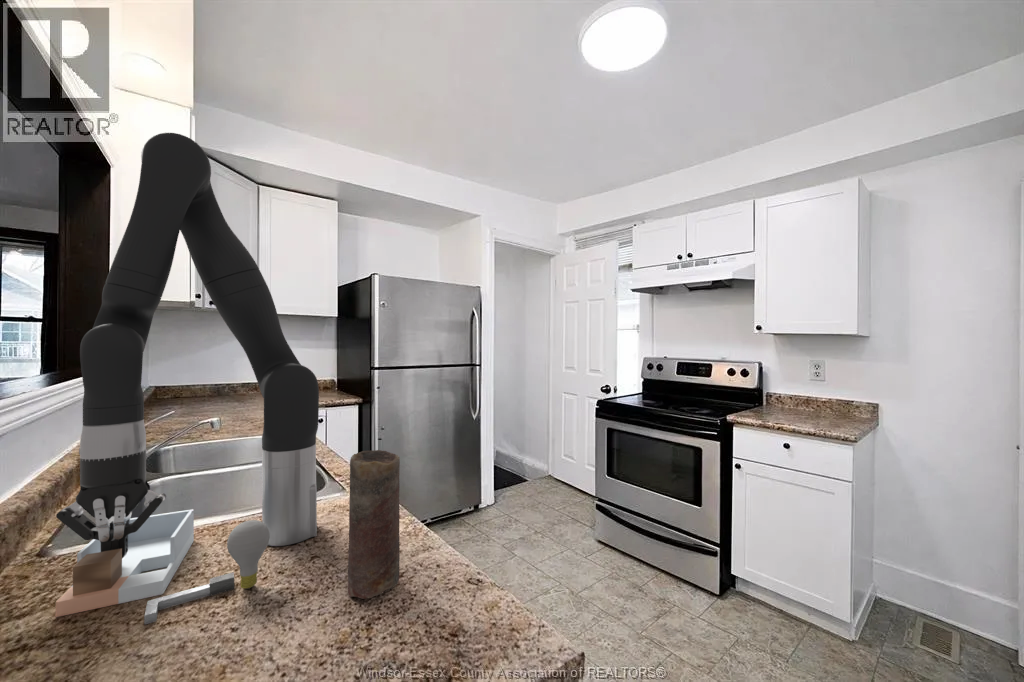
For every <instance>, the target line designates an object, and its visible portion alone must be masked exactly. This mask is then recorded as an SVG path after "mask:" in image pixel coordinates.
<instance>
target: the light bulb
mask: <svg viewBox="0 0 1024 682" xmlns="http://www.w3.org/2000/svg"><path fill="white" fill-rule="evenodd" d="M269 538H270V533H269V530H268V527H267V526H266V525H265V524H264V523H263V522H262V520H258V519H250V520H249V519H248V520H245V521H243V522H240V523H239V524H238V525H236V526H234V528H233V529H232V530H231V532H230V533H229V535H228V537H227V543H226V548H227V551H228V554H229V555H230V557H231V558H232V559H233V560H234V561H235V562H236V563H237V565H238V567H239V576H240V588H241V589H246V590H249V589H251V588H253V586H255V585H256V584H257V582H258V576H257V574H258V571H259V569H258V568H259V566H258V565H259V561H260V559H261V557H262V555H263V554H264V552H265V551H266V549H267V547H268V546H269V545H268V543H269Z"/></svg>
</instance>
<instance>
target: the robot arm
mask: <svg viewBox="0 0 1024 682" xmlns="http://www.w3.org/2000/svg"><path fill="white" fill-rule="evenodd" d="M140 153H141V155H140V159H141V160H140V161H141V167H140V174H139V181H138V182H139V183H138V187H137V193H136V195H135V196H136V197H135V199H134V200H135V201H134V204H133V207H132V208H133V209H132V212H131V214H130V217H129V221H128V224H127V226H126V229H125V230H124V234H123V236H122V239H121V240H120V243H119V246H118V248H117V250H116V253H115V256H114V259H113V261H112V264H111V267H110V269H109V272H108V274H107V277H106V279H105V283H104V285H103V288H102V292H101V305H100V308H99V311H98V313H97V316H96V318H95V320H94V324H93V326H92V329H89V330H88V331H87V332H86V333H85V334H84V335H83V337H82V339H81V342H80V346H79V347H80V348H79V358H80V359H79V360H80V370H81V377H82V384H83V399H82V429H81V434H80V439H79V449H78V454H79V478H80V479H79V491H78V493H77V494H76V496H75V501H74V502H73V503H71V504H70V505H68V506H65V507H64V508H62V509H61V510H59V512H57V513H56V515H55V516H56V519H58V520H59V521H60V522H61V523H63V524H64V525H65V526H67V527H68V528H69V529H70V530H71V531H73V532H74V533H76V535H78V536H80V537H81V538H82V539H83V540H84V541H92V540H93V539H96V540H99V541H100V542H101V552H104V551H110V550H116V549H121V548H122V558H124V556H125V555H126V554H127V552H128V534H131V533H134V532H136V531H137V530H138V529H139V528H140V527H141V526H142V525H143V524H144V523H145V521H146V520H147V519H148V518H149V517H150V516H151V515H153V514H154V512H156V510H157V509H158V508H159V506H161V504H162V503H163V502H164V501H165V499H166V498H167V494H166V493H163V492H161V493H157V492H155V491H153V490H151V485H150V484H149V482H148V481H147V432H146V425H145V397H144V391H143V387H142V381H143V380H142V379H143V378H142V377H143V361H144V360H143V358H144V351H145V348H146V345H147V341H148V337H149V334H150V331H151V327H152V323H153V317H154V314H155V312H156V310H157V308H158V307H159V305H160V303H161V300H162V297H163V294H164V291H165V289H166V286H167V283H168V279H169V276H170V273H171V270H172V266H173V262H174V258H175V253H176V248H177V244H178V238H179V234H180V232H181V235H182V237H183V239H184V242H185V244H186V247H187V248H188V249H187V250H188V252H189V255H190V257H191V259H192V262H193V264H194V267H195V270H196V272H197V273H198V276H199V278H200V280H201V282H202V285H203V286H204V288H205V290H206V292H207V294H208V295H209V298H210V300H211V302H212V303H213V305H214V307H215V308H216V310H217V312H218V313H219V315H220V317H221V318H222V319H223V321H224V322H225V324H226V326H227V327H228V329H229V331H230V332H231V334H232V335H233V336H234V337H235V339H236V340H237V342H238V343H239V344H240V346H241V347H242V350H243V351H244V352H245V353H244V354H245V355H246V357H247V359H248V361H249V363H250V365H251V369H252V370H253V373H254V376H255V378H256V381H257V384H258V386H259V391H260V394H261V396H262V398H263V429H262V430H263V431H262V436H261V506H262V508H261V518H262V519H261V522H263V523H264V524H265V525H266V526H267V527H268V530H269V533H270V538H269V543H268V545H267V546H270V547H283V546H290V545H293V544H297V543H301V542H303V541H305V540H308V539H310V538H313V537H317V536H318V534H317V533H318V531H317V529H318V528H317V526H318V525H317V522H318V520H317V519H318V518H317V516H318V514H317V513H318V512H317V511H318V509H317V502H318V501H317V497H318V496H317V493H318V492H317V434H318V429H319V413H320V410H319V409H320V408H319V407H320V404H319V402H320V392H319V391H320V388H319V381H318V379H317V376H316V374H315V373H314V371H312V370H311V369H310V368H309V367H307V366H305V365H302V364H301V363H300V361H299V360H298V358H297V357H296V355H295V354H294V351H293V350H292V348H291V347H290V345H289V344H288V342H287V339H286V338H285V335H284V333H283V330H282V326H281V323H280V319H279V315H278V312H277V308H276V305H275V302H274V299H273V296H272V293H271V291H270V288H269V286H268V284H267V281H266V280H265V277H264V276H263V274H262V272H261V270H260V268H259V266H258V265H257V262H256V260H255V259H254V257H253V256H252V255H251V253H250V251H249V250H248V249H247V248H246V247H245V244H243V242H242V241H241V240H240V239H239V238H238V236H237V235H236V234H235V233H234V231H233V230H232V228H231V227H230V225H229V224H228V223H227V220H226V219H225V217H224V215H223V212H222V210H221V207H220V206H219V203H218V201H217V198H216V194H215V192H214V189H213V185H212V182H211V177H212V167H211V163H210V159H209V157H208V155H207V153H206V151H205V150H204V148H202V147H201V146H200V144H199V143H197V142H196V141H194V140H193V138H190V137H188V136H187V135H183V134H181V133H175V132H163V133H162V132H161V133H158V134H156V135H153V136H151V137H150V138H149V139H148V140H147V141H146V142H145V143H144V145H143V147H142V148H141V152H140ZM144 498H145V500H144V502H143V506H144V507H145V509H144V510H143V512H141V513H140V515H139V516H138V518H137V517H136V518H137V519H136V520H135V522H133V523H130V518H132V514H133V511H134V510H135V509H136V508H137V506H138V505H139V504H140V503H141V502H142V501H143V499H144ZM84 511H86V512H87V513H88V514H89V515H90V516H91V517H93V518H94V520H95V522H93V521H92V520H91V518H89V517H87V516H86V515H85V514H84Z"/></svg>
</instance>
